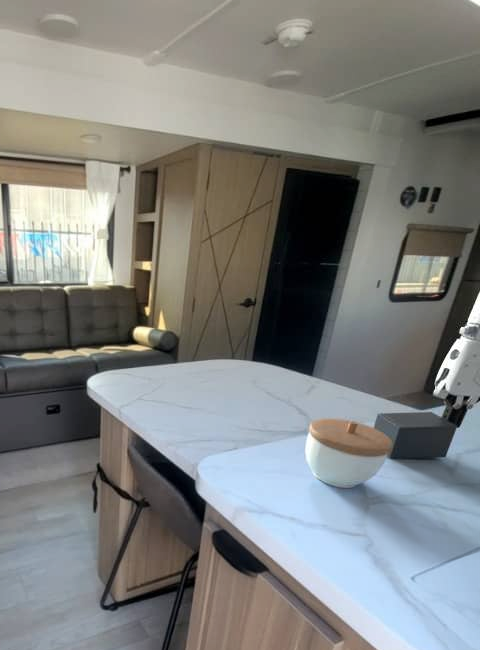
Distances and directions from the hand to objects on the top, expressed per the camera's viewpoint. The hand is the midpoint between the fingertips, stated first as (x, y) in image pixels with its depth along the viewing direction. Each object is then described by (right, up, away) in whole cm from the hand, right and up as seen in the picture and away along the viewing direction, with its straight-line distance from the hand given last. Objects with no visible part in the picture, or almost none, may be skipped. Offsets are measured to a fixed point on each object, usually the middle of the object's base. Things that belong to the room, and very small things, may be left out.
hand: (449, 424), depth 82 cm
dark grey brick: (-7, -5, +3) cm, 9 cm away
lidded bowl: (-28, -10, -8) cm, 31 cm away
